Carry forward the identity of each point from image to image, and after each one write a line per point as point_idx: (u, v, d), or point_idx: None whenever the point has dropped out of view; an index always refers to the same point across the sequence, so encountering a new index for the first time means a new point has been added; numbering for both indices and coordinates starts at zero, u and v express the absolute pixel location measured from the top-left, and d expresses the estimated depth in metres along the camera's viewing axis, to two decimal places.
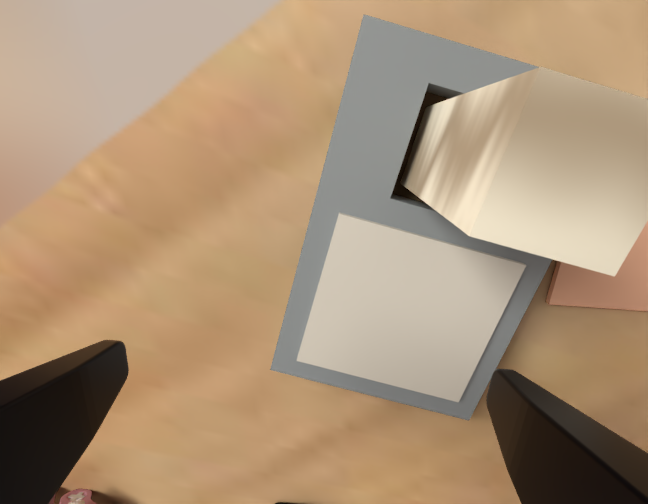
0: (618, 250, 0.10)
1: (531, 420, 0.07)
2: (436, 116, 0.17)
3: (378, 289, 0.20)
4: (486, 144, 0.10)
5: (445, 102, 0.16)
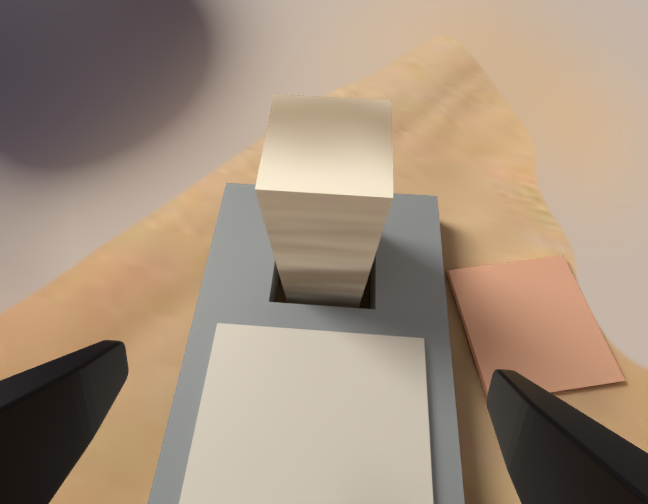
0: (383, 178, 0.11)
1: (531, 420, 0.07)
2: None
3: (272, 404, 0.17)
4: None
5: None
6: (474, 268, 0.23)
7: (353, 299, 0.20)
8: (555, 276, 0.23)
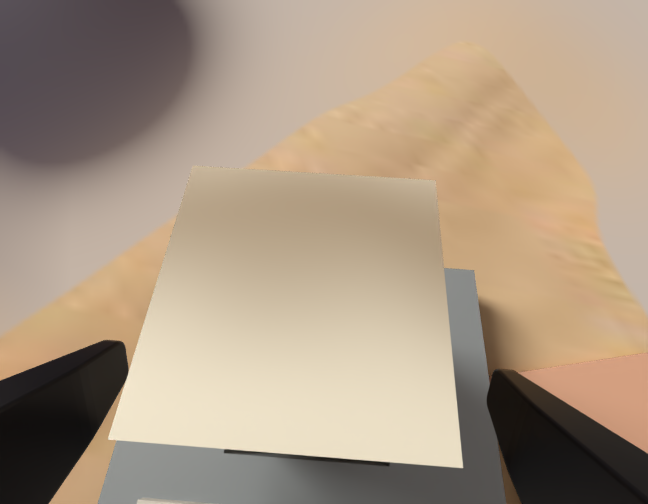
0: (434, 400, 0.05)
1: (531, 420, 0.07)
2: None
3: None
4: None
5: None
6: (527, 373, 0.16)
7: None
8: (645, 386, 0.16)
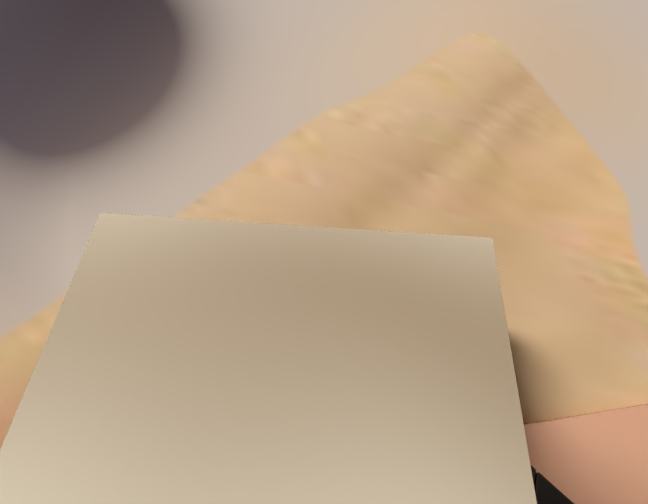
0: None
1: None
2: None
3: None
4: None
5: None
6: (560, 422, 0.14)
7: None
8: None
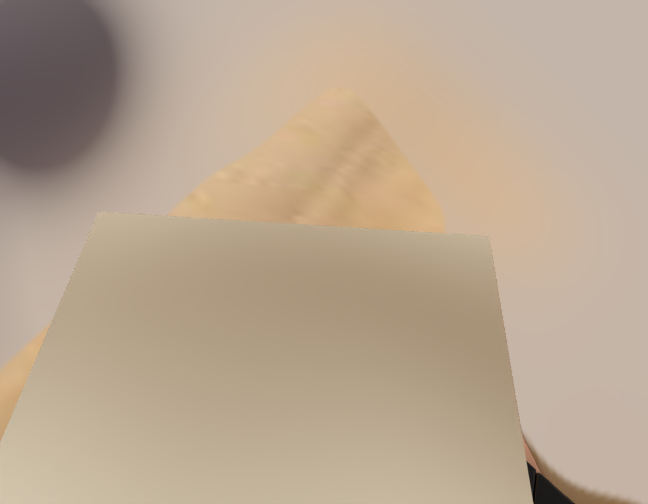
0: None
1: None
2: None
3: None
4: None
5: None
6: None
7: None
8: None
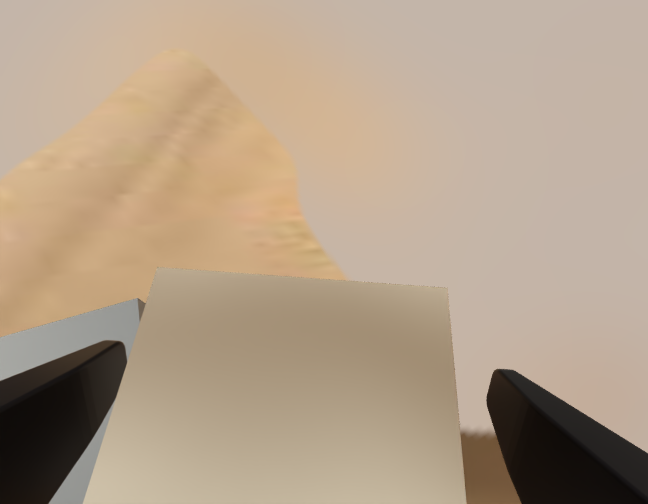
0: None
1: (531, 420, 0.07)
2: None
3: None
4: None
5: None
6: None
7: None
8: None
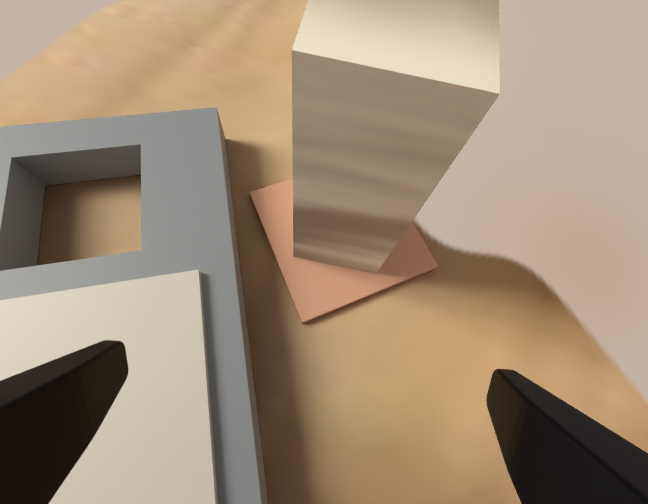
0: (485, 66, 0.08)
1: (531, 420, 0.07)
2: None
3: None
4: None
5: None
6: (279, 184, 0.20)
7: (374, 260, 0.17)
8: None
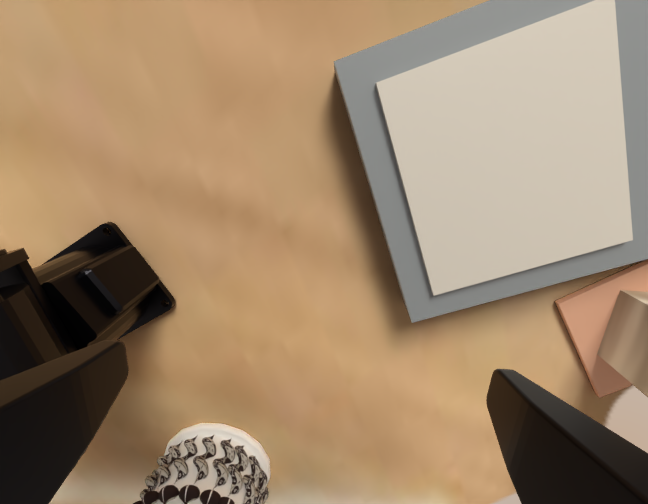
0: None
1: (531, 420, 0.07)
2: None
3: (532, 112, 0.16)
4: None
5: None
6: None
7: (620, 365, 0.20)
8: None
